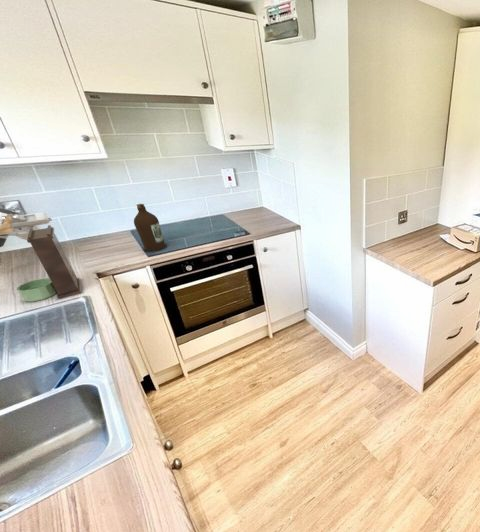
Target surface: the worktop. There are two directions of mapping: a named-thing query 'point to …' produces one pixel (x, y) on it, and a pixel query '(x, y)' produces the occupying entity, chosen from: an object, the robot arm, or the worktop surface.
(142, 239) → the olive oil
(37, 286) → the bowl
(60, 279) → the dark wood pillar
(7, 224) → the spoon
